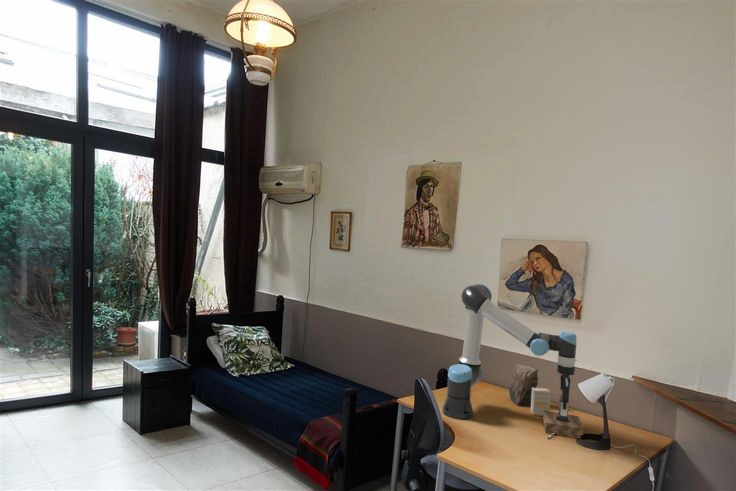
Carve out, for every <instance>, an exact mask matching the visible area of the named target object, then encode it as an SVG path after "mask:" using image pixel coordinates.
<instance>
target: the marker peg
mask: <svg viewBox="0 0 736 491" xmlns="http://www.w3.org/2000/svg"><path fill="white" fill-rule="evenodd" d="M560 400H561V401H562V390H560V389H559V403H558V413H559V416H558V420H559V421H564V422H567V419H568V415H569V406H568V407H567V416H561V402H560Z"/></svg>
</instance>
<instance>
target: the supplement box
mask: <svg viewBox="0 0 736 491" xmlns="http://www.w3.org/2000/svg"><path fill="white" fill-rule="evenodd" d="M550 402H551V391H550V390H549V388H544V387H543V388H541V387H536V388H532V395H531V405H530V413H531V415H532V416H537V417H538V416H539V417H543V411H550Z"/></svg>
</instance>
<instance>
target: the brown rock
mask: <svg viewBox="0 0 736 491" xmlns="http://www.w3.org/2000/svg"><path fill="white" fill-rule="evenodd" d="M538 372H539V369H538V368H534V367H533V366H531V365H523V364H522V365H521V364H519V363H515V364H514V369H513V370H512V372H511V383H510V385H509V387H508V390H509V391H508V392H509V400H510V401H511V402H513V404H514V405H515V406H516V407H523V406H524V407H525V406H526V407H527V406H531V395H532V388H538V387H537V386H538V384H539V383H538V382H539V377H538Z"/></svg>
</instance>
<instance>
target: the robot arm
mask: <svg viewBox="0 0 736 491" xmlns="http://www.w3.org/2000/svg"><path fill="white" fill-rule="evenodd" d="M491 301H492V291H491V290H490V288H489V287H488V286H487V285H484V284H482V283H481V284H480V283H477V284H476V283H475V284H473V285H468V286H466V287H465V288H464V289H463V290H462V292H461V302H462V303H463V305H464V306H465V307H464V310H465V311H467V315H466V321H465V322H466V323H465V331H464V340H463V347H462V355H461V356H460V357H458V363H457V364H453V365H451V366H450V367H449V368H448V372H447V387H446V388H447V390H446V398H445V400H444V402H443V405H442V413H443V415H445V416H447V417H450V418H453V419H456V420H458V419H459V420H468V419H471V418H472V417H473V416H474V410H473V405H472V401H471V395H472V394H471V393H472V392H471V391H472V388H473V387H474V386H475V385H477V384H478V383H479V382H481V378H482V376H483V369H482V367H481V366H482V361H481V360H480V350H481V343H482V342H481V341H482V334H483V326H484V319H487V320H488V321H490V322H492V323H493V324H494V325H495V326H497V327H498V328H499V329H502V330H503V331H504V332H506V333H507V334H509V335H510V336H511V337H513V338H514V339H516V340H518V341H519V342H520V343H522V344H523V345H524V346H526V347H527V348H528V349H530V351H531V352H532V354H534V355H535V356H538V357H540V356H544V355H546V354H547V353H548V352H549V351H552V352H558V355H557V370H556V371H557V373H558V374H560V386H559V387H560V389H559V391H560V390H562V401H561V400H560V399H559V400H560V402H561V416H567V407H568V408H569V400H570V386H571V377H570V376H574V375H575V370H576V368H575V365H576V362H577V359H576V354H577V353H576V352H577V334H575V333H574V332H570V331H560V332H559V334H558V335H556V334H551V333H550V334H549V333H544V332H535V331H534V330H532V329H531V328H529V327H527V326H526V325H525V324H523V323H522V322H520V321H519V320H518V319H516V318H514V317H513V316H512V315H511V314H509V313H507V312H505V310H503V309H501V308H500V307H499V306H497V305H495V304H494V303H492V302H491Z"/></svg>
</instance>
